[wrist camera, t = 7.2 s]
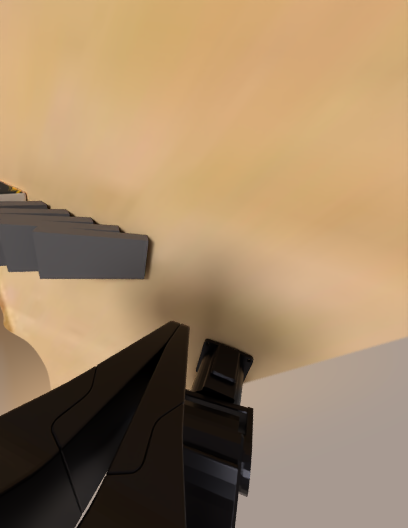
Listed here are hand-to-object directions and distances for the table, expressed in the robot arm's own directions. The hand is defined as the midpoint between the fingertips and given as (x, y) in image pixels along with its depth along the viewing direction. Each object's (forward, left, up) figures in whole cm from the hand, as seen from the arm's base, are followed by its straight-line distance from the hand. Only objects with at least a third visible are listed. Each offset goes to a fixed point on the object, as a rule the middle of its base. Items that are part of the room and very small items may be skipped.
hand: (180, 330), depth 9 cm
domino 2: (-4, +13, -13) cm, 19 cm away
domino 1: (-4, +9, -13) cm, 16 cm away
